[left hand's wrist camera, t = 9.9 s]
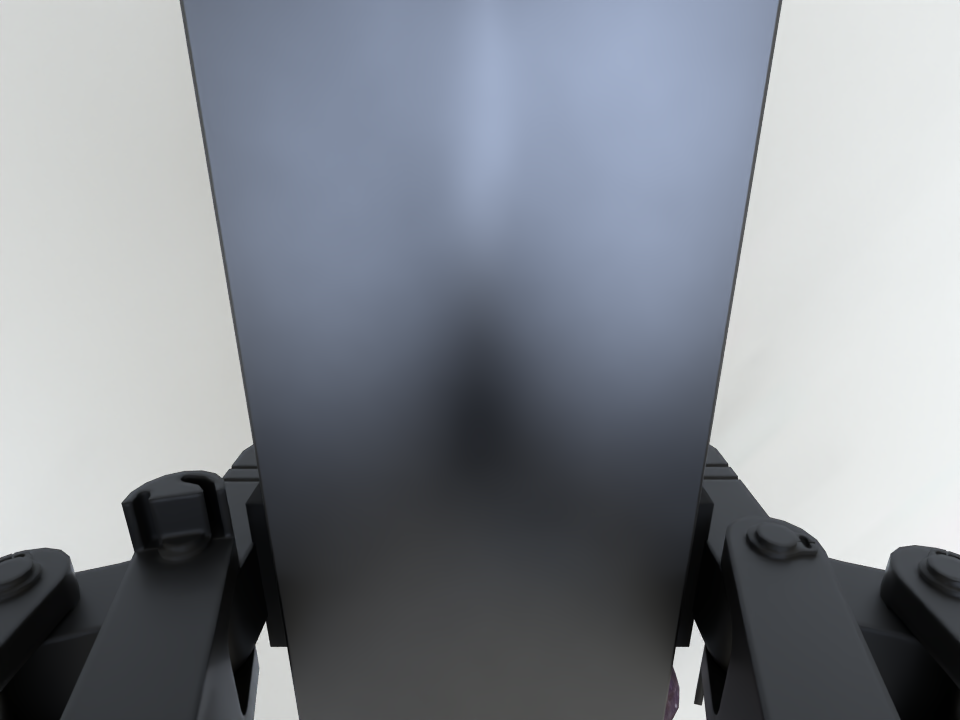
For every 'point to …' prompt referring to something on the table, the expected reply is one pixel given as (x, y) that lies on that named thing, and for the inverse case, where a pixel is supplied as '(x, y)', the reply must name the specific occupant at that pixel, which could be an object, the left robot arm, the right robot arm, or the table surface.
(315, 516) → the bar
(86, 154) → the table surface
